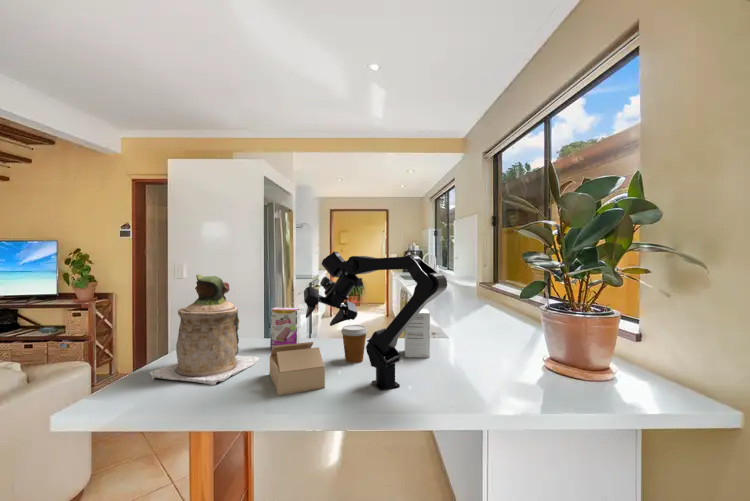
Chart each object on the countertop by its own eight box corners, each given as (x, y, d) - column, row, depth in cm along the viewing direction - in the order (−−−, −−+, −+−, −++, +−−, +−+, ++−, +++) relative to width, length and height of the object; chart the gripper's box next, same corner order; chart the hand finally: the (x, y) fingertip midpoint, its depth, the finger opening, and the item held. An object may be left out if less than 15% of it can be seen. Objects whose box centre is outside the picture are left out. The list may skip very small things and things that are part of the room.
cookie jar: (217, 386, 103) (218, 277, 103) (146, 380, 107) (146, 275, 108) (261, 361, 127) (261, 272, 127) (201, 357, 132) (201, 271, 132)
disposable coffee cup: (366, 364, 123) (366, 330, 123) (339, 364, 123) (339, 330, 123) (367, 356, 132) (368, 324, 132) (342, 356, 132) (342, 324, 132)
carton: (324, 388, 101) (324, 367, 101) (278, 395, 96) (278, 373, 96) (309, 369, 118) (309, 351, 118) (269, 374, 113) (269, 355, 113)
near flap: (323, 367, 101) (324, 366, 101) (279, 373, 96) (279, 372, 96) (318, 348, 107) (318, 347, 106) (276, 353, 102) (276, 351, 101)
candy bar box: (269, 350, 141) (269, 309, 141) (274, 346, 146) (274, 307, 146) (296, 350, 140) (297, 309, 140) (300, 347, 145) (300, 307, 145)
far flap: (270, 355, 113) (270, 354, 113) (309, 351, 118) (308, 349, 118) (273, 347, 108) (273, 345, 108) (313, 343, 113) (313, 341, 113)
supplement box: (404, 350, 141) (404, 308, 141) (427, 350, 140) (427, 308, 141) (405, 357, 131) (405, 312, 131) (430, 357, 131) (430, 312, 131)
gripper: (362, 282, 124) (339, 313, 129) (315, 262, 115) (292, 296, 121) (368, 303, 114) (343, 335, 120) (317, 283, 106) (293, 319, 111)
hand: (318, 321), depth 118 cm, fingers open, 9 cm apart
